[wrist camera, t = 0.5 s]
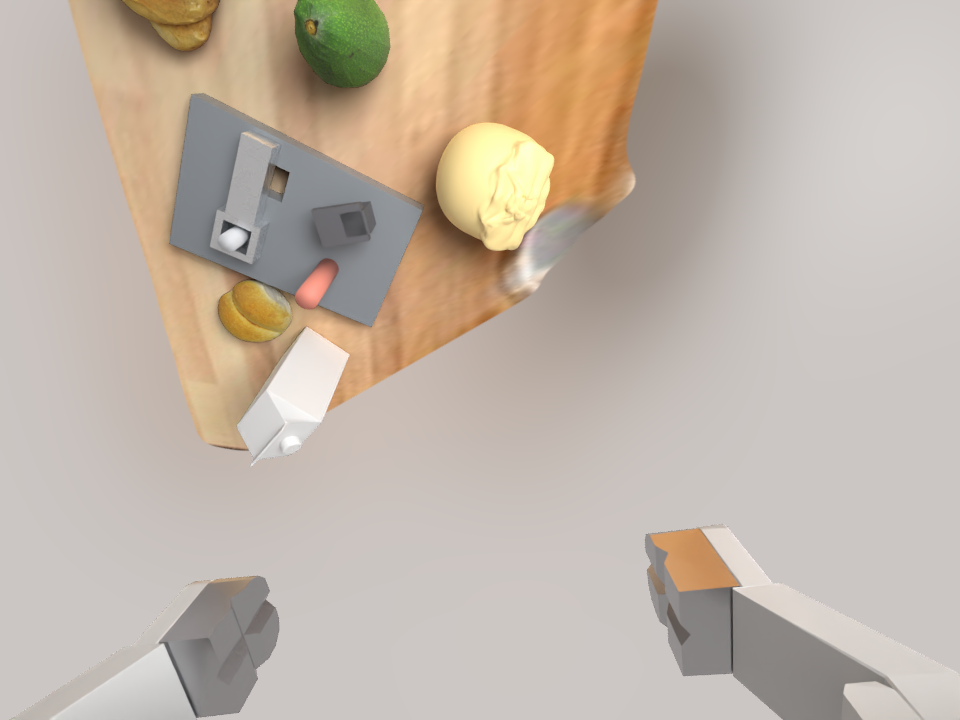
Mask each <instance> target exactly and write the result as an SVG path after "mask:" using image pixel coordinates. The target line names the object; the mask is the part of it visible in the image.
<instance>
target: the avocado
mask: <svg viewBox="0 0 960 720" xmlns="http://www.w3.org/2000/svg"><path fill="white" fill-rule="evenodd" d="M294 15H295V34H296V38H297V41H298V45H299V49H300V52H301V53H302V55H303V57H304V58H305V60H306V61H307V62H308V64H309V65H310V67H311V68H312V69H313V71H314V72H315V73H316V74H317V75H318V76H319V77H320V78H321V79H322V80H324V81H325V82H326V83H328V84H331V85H334V86H337V87H361V86H364V85H366V84H368V83H369V82H370V81H371V80H373V79H374V78H375V77H377V76H378V74H379V73H380V71H381V70H382V68H383V67H384V65H385V63H386V61H387V57H388V54H389V50H390V38H389V28H388V25H387V21H386V19H385V16H384V14H383V13H382V11H381V10H380V8H379V7H378V5H377V4H376V2H375V1H374V0H298V3H297V5H296V8H295V10H294Z"/></svg>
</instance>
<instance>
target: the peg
mask: <svg viewBox="0 0 960 720" xmlns="http://www.w3.org/2000/svg"><path fill="white" fill-rule="evenodd" d="M338 271H339V267H338V265H337V263H336V262H335V261H334V260H332V259H328V258H326V259H323V260H321V261H320V263H319V264H318V265H317V266H316V268H315V269H314V270H313V271H312V273H311V274H310V275H309V277H308V278H307V279H306V280H305V282H304V283H303V284H302V286H301V287H300V288H299V289H298V291H297V292H296V294H295V300H296V302H297V304H298V305H299V306H300V307H302V308H304V309H313V308H315V307H316V306H317V305H318V303H319V301H320V300H321V298H322V297H323V295H324V294H325V292H326V291H327V289H328V288H329V286H330V284H331V283H332V281H333V280H334V278H335V277H336V275H337V274H338Z"/></svg>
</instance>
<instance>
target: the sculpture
mask: <svg viewBox="0 0 960 720" xmlns="http://www.w3.org/2000/svg"><path fill="white" fill-rule="evenodd" d="M553 166H554V157H553V156H552V155H551V154H550V153H548V152H546V150H545V149H544V148H543V147H542V146H539V145H538V144H537V143H536V142H535V141H534V140H533V139H532V138H531V137H529V136H528V135H526V134H524V133H522V132H520V131H518V130H515V129H513V128H510V127H508V126H505V125H502V124H497V123H478V124H474V125H471V126H468V127H466V128H464V129H463V130H461V131H460V132H459V133H457V134H456V135H455V136H454V137H453V138H452V140H451V141H450V142H449V144H448V145H447V147H446V148H445V150H444V152H443V154H442V156H441V159H440V162H439V165H438V169H437V175H436V193H437V198H438V202H439V204H440V207H441V209H442V211H443V213H444V214H445V216H446V217H447V218H448V219H449V221H450V222H451V223H452V224H454V225H455V226H456V227H457V228H459V229H460V230H462V231H463V232H465V233H467V234H469V235H471V236H473V237H475V238H477V239H480V240H482V242H483V243H484V245H485V246H486V248H488V249H490V250H494V251H502V250H506V249H508V250H514V249H516V248H517V247H518V246H519V245H520V243H521V241H522V239H523V236H524V234H525V233H526V232H527V231H528V230H529V229H531V228H532V227H533V226H534V225H535V223H536V221H537V219H538V217H539V215H540V213H541V212H542V211H543V210H544V207H545V201H546V198H547V196H548V193H549V189H550V179H549V175H550V173H551V171H552V168H553Z"/></svg>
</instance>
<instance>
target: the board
mask: <svg viewBox="0 0 960 720" xmlns="http://www.w3.org/2000/svg"><path fill="white" fill-rule="evenodd" d="M251 130H252V131H254V132H256V133H258V134H260V135H262V136H264V137H266V138H268V139H270V140H272V141H274V142H276V143H278V144H280V145H281V146H280V150H279V154H278V158H277V162H276V166H278V167H280V168H282V169H284V170H286V171H288V172H290V174H289V177H288V181H287V185H286V188H285V192H284V195H282V194H280V193H278V192H276V191H274V190H272V189H270V190H269V194H268V198H267V202H266V206H265V210H264V214H263V218H262V219H263V220H265V221H267V222H269V225H268V229H267V233H266V236H265V240H264V244H263V248H262V252H261V255H260V257H259V258H258V259H257V260H256V261H255V262H254V263H253V264H250V263H247V262H245V261H243V260H240V259H238V258H235V257H233V256H231V255H228V254H226V253H224V252H221V251H219V250H216V249H214V248H212V247H210V243H211V238H212V233H213V228H214V223H215V218H216V212H217V209H219V208H221V207H223V206H224V205H226V204H227V200H228V195H229V190H230V186H231V181H232V176H233V171H234V166H235V162H236V157H237V152H238V147H239V142H240V137H241V133H243V132H247V131H251ZM423 208H424V205H422V204H420V203H418V202H416V201H415V200H413V199H411V198H409V197H407V196H405V195H403V194H401V193H399V192H397V191H395V190H393V189H391V188H389V187H387V186H385V185H383V184H381V183H379V182H377V181H375V180H373V179H371V178H369V177H367V176H365V175H363V174H361V173H359V172H357V171H356V170H354V169H352V168H350V167H348V166H346V165H344V164H342V163H340V162H338V161H336V160H334V159H332V158H330V157H328V156H326V155H324V154H322V153H320V152H318V151H316V150H314V149H312V148H310V147H308V146H306V145H304V144H302V143H300V142H298V141H297V140H295V139H293V138H291V137H289V136H287V135H285V134H283V133H281V132H279V131H277V130H275V129H273V128H271V127H269V126H267V125H265V124H263V123H261V122H259V121H257V120H255V119H253V118H251V117H249V116H247V115H245V114H243V113H241V112H239V111H238V110H236V109H234V108H232V107H230V106H228V105H226V104H224V103H222V102H220V101H218V100H216V99H214V98H212V97H210V96H208V95H206V94H204V93H203V94H191V101H190V107H189V114H188V121H187V128H186V134H185V141H184V148H183V155H182V161H181V168H180V175H179V182H178V189H177V195H176V202H175V209H174V216H173V222H172V229H171V236H170V243H169V244H171V245H174V246H176V247H179V248H181V249H183V250H186V251H188V252H191V253H193V254H196V255H198V256H200V257H203V258H205V259H208V260H210V261H212V262H215V263H217V264H220V265H222V266H225V267H227V268H229V269H232V270H234V271H237V272H239V273H242V274H244V275H246V276H249V277H251V278H254V279H256V280H258V281H261V282H263V283H266V284H268V285H271V286H273V287H275V288H278V289H280V290H283V291H285V292H287V293H290V294H292V295H295V294H296V292H297V291H298V289H299V288H300V287H301V286H302V284H303V283H304V282H305V280H306V279H307V278H308V277H309V275H310V274H311V273H312V271H313V270H314V269H315V268H316V266H317V265H318V264H319V263H320V261H321V260H323V259H326V258H328V259H332V260H334V261H335V262H336V263H337V265H338V267H339V271H338V274H337V275H336V277H335V278H334V280H333V281H332V283H331V284H330V286H329V288H328V289H327V291H326V292H325V294H324V295H323V297H322V298H321V300H320V301H319V303H318V305H319V306H321V307H324V308H326V309H329V310H331V311H333V312H336V313H338V314H341V315H343V316H346V317H348V318H350V319H353V320H355V321H358V322H360V323H363V324H365V325H367V326H370V327H372V325H373V323H374V321H375V318H376V316H377V314H378V311H379V309H380V307H381V305H382V302H383V300H384V298H385V296H386V293H387V291H388V289H389V286H390V284H391V282H392V280H393V277H394V275H395V273H396V270H397V268H398V266H399V264H400V261H401V259H402V257H403V254H404V252H405V250H406V248H407V245H408V243H409V241H410V238H411V236H412V234H413V232H414V229H415V227H416V225H417V222H418V220H419V218H420V216H421V213H422V211H423ZM251 233H252V232H251V231H248V230H246V229H244V228H242V227H239V226H237V225H235V224H232V223H231V228H230V229H229V230H227V231H226V232H224V233H223V234H221V235H220V236H219V237H218V240H217V242H218V245H219V246H220V248H221V249H222V250H224V251H226V252H234V251H235V250H236V249H238V248H239V247H240V246H242V245H243V244H246V245H249V241H250V237H251Z"/></svg>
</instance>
